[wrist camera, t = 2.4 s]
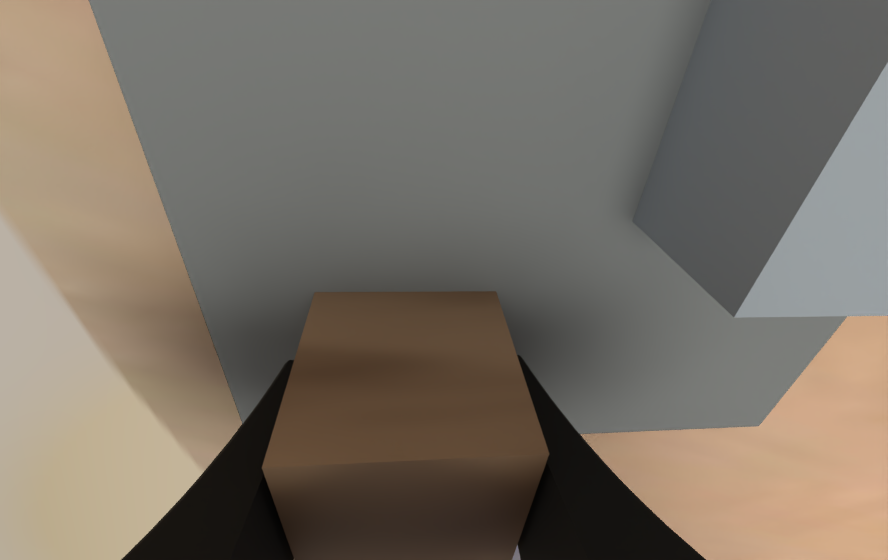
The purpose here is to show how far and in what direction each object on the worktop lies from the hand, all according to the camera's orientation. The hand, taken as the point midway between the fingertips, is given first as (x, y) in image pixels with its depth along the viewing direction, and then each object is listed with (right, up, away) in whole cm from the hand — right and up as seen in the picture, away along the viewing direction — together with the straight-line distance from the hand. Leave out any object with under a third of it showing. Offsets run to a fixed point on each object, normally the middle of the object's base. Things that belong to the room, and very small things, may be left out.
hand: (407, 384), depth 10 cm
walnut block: (0, +1, +1) cm, 1 cm away
